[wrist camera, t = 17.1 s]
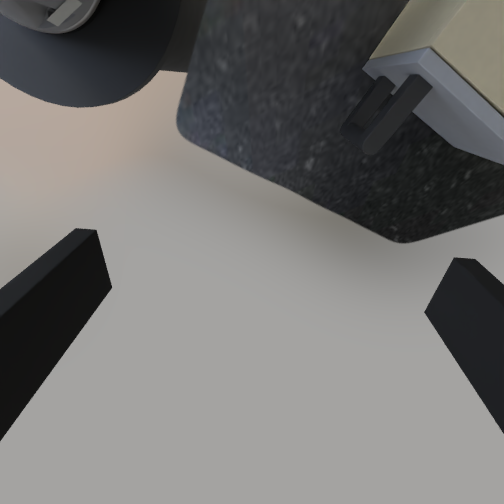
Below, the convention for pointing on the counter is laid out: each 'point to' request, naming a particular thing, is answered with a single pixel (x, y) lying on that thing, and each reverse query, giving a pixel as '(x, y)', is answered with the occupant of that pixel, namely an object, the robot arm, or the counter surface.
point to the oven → (455, 40)
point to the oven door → (424, 106)
